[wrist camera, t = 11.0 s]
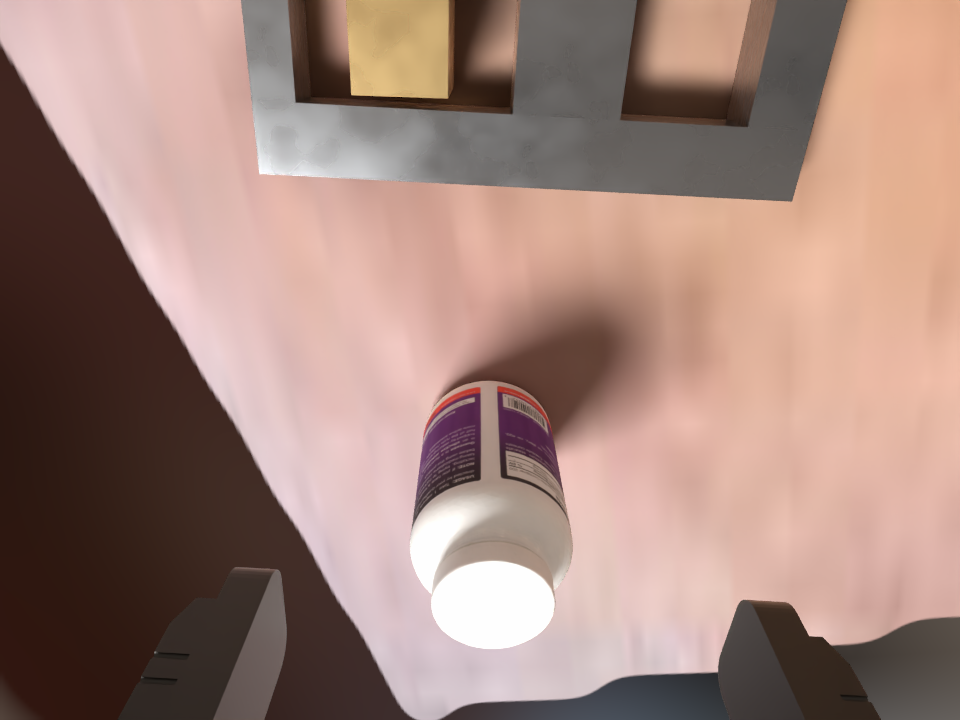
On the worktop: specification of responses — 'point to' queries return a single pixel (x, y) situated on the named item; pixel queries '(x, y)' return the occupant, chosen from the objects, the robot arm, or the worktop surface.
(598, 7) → the silver slotted board
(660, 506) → the worktop surface
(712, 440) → the worktop surface
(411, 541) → the pill bottle
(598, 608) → the worktop surface
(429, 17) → the block
